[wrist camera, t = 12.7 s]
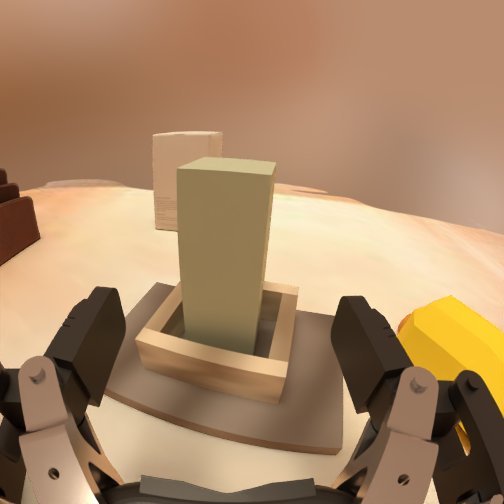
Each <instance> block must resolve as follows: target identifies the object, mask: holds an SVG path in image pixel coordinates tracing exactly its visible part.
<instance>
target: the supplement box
mask: <svg viewBox="0 0 504 504" xmlns="http://www.w3.org/2000/svg"><path fill="white" fill-rule="evenodd" d="M222 141H223V133H222V132H197V131H196V132H194V131H192V132H170V133H162V134H155V135H153V136H152V143H153V144H152V145H153V187H154V207H155V223H156V229H164V230H174V231H178V226H177V168H179V167H181V166H183V165H186V164H188V163H191V162H193V161H196V160H198V159H201V158H203V157H215V158H222Z"/></svg>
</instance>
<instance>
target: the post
mask: <svg viewBox="0 0 504 504" xmlns="http://www.w3.org/2000/svg"><path fill="white" fill-rule="evenodd" d="M275 170H276V162H267V161H257V160H245V159H232V158H215V157H203V158H201V159H198V160H196V161H193V162H191V163H188V164H186V165H183V166H181V167H179V168H177V226H178V248H179V265H180V279H181V292H182V303H183V313H184V323H185V332H186V340H188V341H192V342H196V343H199V344H203V345H207V346H211V347H216V348H220V349H224V350H228V351H233V352H237V353H242V354H247V355H252V356H254V351H255V345H256V339H257V334H258V328H259V320H260V311H261V303H262V294H263V286H264V277H265V268H266V259H267V250H268V240H269V231H270V221H271V212H272V202H273V192H274V182H275Z"/></svg>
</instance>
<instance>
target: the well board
mask: <svg viewBox="0 0 504 504" xmlns="http://www.w3.org/2000/svg"><path fill="white" fill-rule="evenodd" d="M298 289H299V287H295V286H289V285H283V284H277V283H271V282H265V281H264V286H263V294H262V303H261V311H260V320H259V328H258V334H257V339H256V345H255V351H254V356H252V355H247V354H242V353H237V352H233V351H228V350H224V349H220V348H216V347H211V346H207V345H203V344H199V343H196V342H192V341H188V340H186V332H185V323H184V313H183V303H182V292H181V281H180V282H179V283H178V284H177V286H171V285H167V284H162V283H158V282H157V283H156V284H155V285H154V286H153V287H152V288H151V289H150V290H149V291H148V293H147V294H146V295H145V296H144V297H143V298H142V299H141V300H140V301H139V303H138V304H137V305H136V306H135V307H134V308H133V309H132V310H131V312H130V313H129V314H128V315H127V316H126V317H125V321H126V333H125V337H124V340H123V343H122V345H121V348H120V350H119V353H118V355H117V358H116V361H115V363H114V366H113V369H112V371H111V374H110V377H109V380H108V383H107V385H106V388H105V391H104V394H105V395H107V396H110V397H112V398H114V399H116V400H118V401H120V402H122V403H124V404H126V405H129V406H131V407H133V408H135V409H138V410H140V411H142V412H145V413H147V414H150V415H152V416H155V417H157V418H160V419H163V420H165V421H168V422H171V423H174V424H177V425H180V426H183V427H186V428H189V429H192V430H195V431H199V432H202V433H205V434H209V435H212V436H216V437H220V438H224V439H228V440H232V441H237V442H241V443H246V444H251V445H256V446H261V447H267V448H273V449H279V450H286V451H294V452H303V453H314V454H328V455H336V454H337V453H338V452H339V451H340V450H341V449H342V437H343V373H342V370H341V368H340V365H339V362H338V360H337V357H336V354H335V351H334V349H333V346H332V343H331V327H332V324H333V321H334V318H335V316H332V315H325V314H318V313H312V312H306V311H299V310H296V306H297V298H298Z"/></svg>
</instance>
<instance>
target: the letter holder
mask: <svg viewBox="0 0 504 504" xmlns="http://www.w3.org/2000/svg"><path fill="white" fill-rule="evenodd" d="M39 239H40V233H39V230H38V226H37V221H36V216H35V211H34V206H33V201H32V199H31V197H28V196H26V197H20V194H19V187H18V185H17V184H16V183H9V184H8V181H7V173H6V171H5V169H0V266H1V265H2V264H3V263H5V262H6V261H8V260H9V259H11V258H12V257H13V256H15V255H16V254H18V253H19V252H20V251H22V250H24V249H25V248H26V247H28V246H29V245H31V244H32V243H34V242H36V241H37V240H39Z"/></svg>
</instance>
